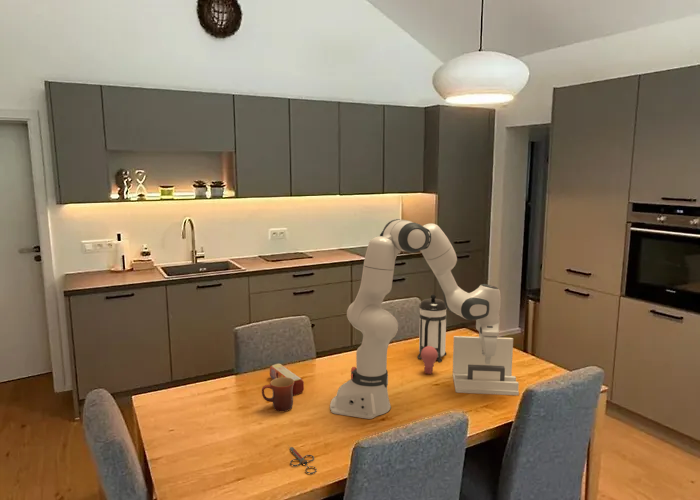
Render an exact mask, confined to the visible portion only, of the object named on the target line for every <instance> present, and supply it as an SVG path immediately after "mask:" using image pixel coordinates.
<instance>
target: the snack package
mask: <svg viewBox="0 0 700 500" xmlns="http://www.w3.org/2000/svg"><path fill="white" fill-rule="evenodd" d="M269 377H270V378H271V379H272V380H273V379H276V378H280V377H288V378H291V379H293V380H294V385H293V396H296V394H298V395H300V394H302V393H303V392H304V389H305V383H304V379H303V378H302V377H300V376H298V375H296V373H294V372H293V371H291V370H290V369H289V368H287V367H285V366H284V365H283V364H281V363H275V364H272V365H270V366H269ZM299 393H300V394H299Z"/></svg>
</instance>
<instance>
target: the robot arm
mask: <svg viewBox="0 0 700 500" xmlns="http://www.w3.org/2000/svg"><path fill="white" fill-rule="evenodd" d="M400 252H406V253H408V254H413V253H415V254H416V253H418V252H421V254H422V256H423V258H424V259H425V261H426V264H427V265H428V266H429V268H430V269H431V271H432V272H433V275H434V277H435V278H436V280H437V283H438V285H439V287H440V289H441V291H442V295H443V301H444V303H445V306H446V308H447V309H446V310H447V311H449V312H450V313H452V314H455V315H457V316H459V317H460V318H462V319H465V320H467V321H475V329H476V330H477V331H478V337H479V340H480V343H481V346H482V355H485V363H486V364H490V359H491V356H494V355H495V352H496V345H497V337H499V336H500V324H501V323H500V319H501V317H500V310H501V307H502V306H501V305H502V304H501V303H502V299H501V297H502V296H501V295H502V294H501V291H500V289H499V287H497V286H494V285H492V284H489V283H483V284H480V285H479V286H478V287H477V288H476V289H475V290H473V291H471V292H468V291H465V290H464V289H462V288H461V287H460V286H458V283H457V282H456V279H455V277H454V275H453V273H452V270H453V269H454V267H456V264H457V262H458V257H457V253H456V251H455V249H454V247H453V245H452V243H451V241H450V239H449V238H448V236H447V235H446V234H445V232H444V231H443V230H442V228H441V227H440V226H439V225H438V224H436V223H426V224H424V225H421V224H420V223H418V222H413V221H412V220H408V219H400V218H396V219H392V220H390V221H388V222H386V224H385V226H384V227H383V229H382V231H381V233H380V234H379V235H378V236H375V237H373V238H371V239H370V240H369V242H368V245H367V247H366V251H365V256H364V260H363V266H362V275H361V279H360V285H359V289H358V292H357V294H356V297H355V299H354V301H352V303H350V304H349V306H348V307H347V310H346V319H348V321H349V323H350V324H351V326H352V327H353V328H355V329H356V330H358V331H360V332H361V333H362V341H361V344H360V346H359V347H358V348H357V349H356V353H355V354H356V363H355V364H356V366H352V367H351V370H350V379H349V380H348V381H346V382H344V383H342V385H341V386H339V387H338V390H337V393H336V395H335V396H334V397H332V399H331V401H330V404H329V410H331V411H330V413H332V414H335V415H341V416H348V417H355V418H360V419H361V418H362V419H368V420H372V419H373V418H376V417H378V416H381V415H384V414H386V413H388V412H389V411H390V410H391V408H392V405H391V403H390V399H389V391H388V384H389V374H388V373H389V372H388V369H387V365H388V363H387V359H388V358H387V357H388V349H389V344H390V342H391V340H393V338H395V337H396V335H397V333H398V330H399V322H398V320H397V318H396V317H395V316H394V315H393V314H392V313H391V312H390V311H389V310H386V309H385V308H383V307H382V305H383V301H384V299H385V297H386V296H387V295H388V294H390V292H391V291H392V289H393V288H392V287H393V278H394V272H395V266H396V264H395V263H396V259H397V256H398V254H399V253H400Z"/></svg>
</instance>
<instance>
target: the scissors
mask: <svg viewBox="0 0 700 500" xmlns="http://www.w3.org/2000/svg"><path fill="white" fill-rule="evenodd" d="M287 446H288V447H289V451H290V450H291V451H292V452H293V453H294V454H293V453H292V452H291V451H290V452H291V453H292V454H293V456H294V457H295V456H296V457H297V458H298V459H297V458H296V457H295V458H293V459H292V460H290V462H289V464H291V465H293V466H292V467H298V466H297V465H299V466H300V464H301V463H302V464H305V465H304V466H306V468H305V471H306V472H307V473H310V474H309V475H314V474H316V473H315V472H317V471H318V470H317V468H316V467H315V466H313V465H310V466H308V464H307V463H308V462H307V461H308V460H307V459H305V458H307V457H306V456H308V457H310V456H312V457H311V458H312V459H310V460H309V461H312V462H314V460H315V456H313V455H312V454H306V455H304V456H302V455H301V454H300V453H299V452H298V451H297V450H296V449H295V448H294V447H293V446H289V445H288V444H287ZM304 457H305V458H304ZM293 460H299V461H298V462H299V463H298V464H292V461H293ZM293 462H294V461H293ZM302 464H301V465H302ZM306 464H307V465H306ZM291 465H290V466H291ZM309 467H314V468H316V469H315V471H312V472H309V471H308V469H307V468H309ZM314 468H313V469H314ZM306 469H307V470H306ZM309 469H310V468H309ZM316 470H317V471H316ZM305 471H304V472H305ZM306 472H305V473H306ZM307 473H306V474H307ZM313 473H314V474H313Z"/></svg>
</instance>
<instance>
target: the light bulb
mask: <svg viewBox="0 0 700 500" xmlns="http://www.w3.org/2000/svg"><path fill="white" fill-rule="evenodd" d="M420 357H421V358H422V359H421V360H422V362H423V363H424V365H423V366H424V371H423V372H424V373H425V374H432V373H433V370H434V367H435V366H434V365H435V363H436V361H437V357H438V353H437V351H436V349H435V348H434V347H432V346H426V347H424V348H423V349H422V351H421V355H420Z"/></svg>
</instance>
